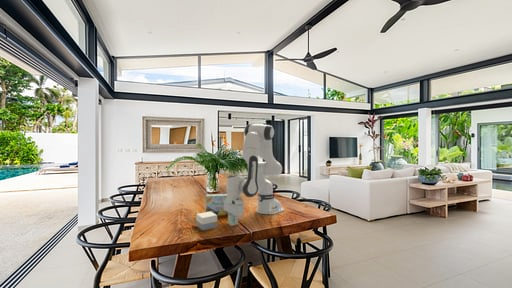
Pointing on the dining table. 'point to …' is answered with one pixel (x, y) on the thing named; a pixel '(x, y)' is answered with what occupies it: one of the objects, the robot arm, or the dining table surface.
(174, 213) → the dining table surface
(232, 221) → the sage block
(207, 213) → the cream slab
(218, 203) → the snack box
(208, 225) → the grey slab
